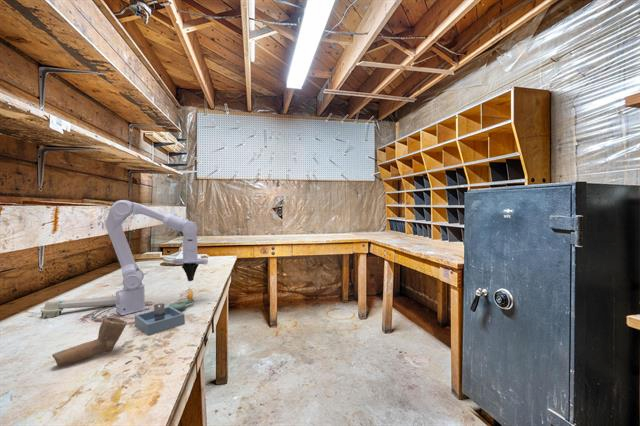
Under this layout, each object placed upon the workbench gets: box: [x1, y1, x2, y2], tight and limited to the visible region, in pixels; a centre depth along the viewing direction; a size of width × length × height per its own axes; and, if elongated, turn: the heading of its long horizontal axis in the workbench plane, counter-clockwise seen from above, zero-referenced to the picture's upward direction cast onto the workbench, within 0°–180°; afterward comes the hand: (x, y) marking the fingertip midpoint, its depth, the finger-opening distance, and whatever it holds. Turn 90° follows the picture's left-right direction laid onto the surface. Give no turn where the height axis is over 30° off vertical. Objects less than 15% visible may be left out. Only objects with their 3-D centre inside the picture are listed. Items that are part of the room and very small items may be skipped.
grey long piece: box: [40, 294, 116, 319], centre depth 117 cm, size 5×7×25 cm
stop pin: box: [153, 303, 166, 322], centre depth 104 cm, size 3×3×6 cm
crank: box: [168, 290, 195, 310], centre depth 119 cm, size 10×6×5 cm, turn 152°
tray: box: [134, 305, 186, 336], centre depth 104 cm, size 12×12×4 cm
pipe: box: [51, 316, 127, 367], centre depth 82 cm, size 6×17×10 cm, turn 134°
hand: (190, 280), depth 127 cm, fingers closed
